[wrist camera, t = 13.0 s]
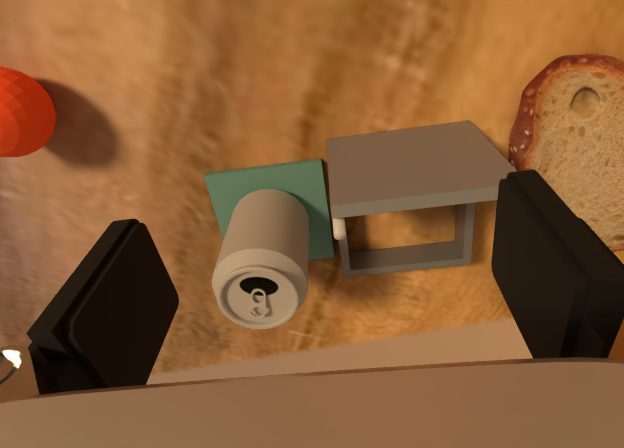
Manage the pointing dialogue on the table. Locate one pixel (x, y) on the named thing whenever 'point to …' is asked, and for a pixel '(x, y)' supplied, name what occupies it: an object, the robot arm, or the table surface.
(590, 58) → the slice of bread
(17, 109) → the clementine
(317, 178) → the mat
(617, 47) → the table surface
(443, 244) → the grey open box
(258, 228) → the can
